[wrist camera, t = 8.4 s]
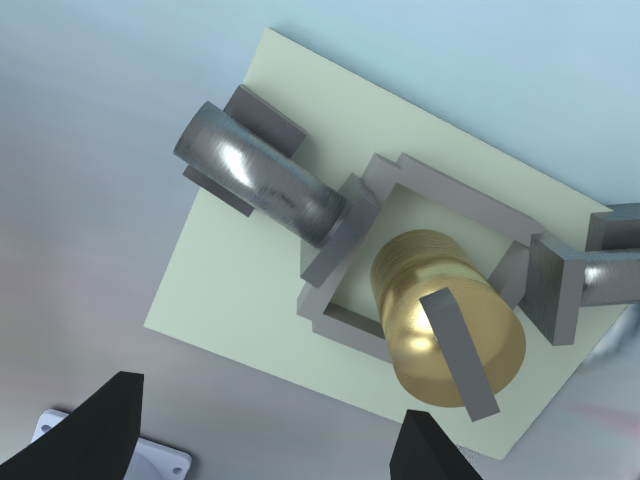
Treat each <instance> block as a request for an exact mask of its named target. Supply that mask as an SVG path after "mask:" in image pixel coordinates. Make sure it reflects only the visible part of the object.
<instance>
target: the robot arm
mask: <svg viewBox="0 0 640 480" xmlns="http://www.w3.org/2000/svg"><path fill="white" fill-rule="evenodd" d="M143 383H144V374H139V373H131V372H123V371H120V372H118V373H117V374H116V375H114V376H113V377H112V378H111V379H110V380H109V381H108V382H107V383H105V384H104V385H103V386H102V387H101V388H100V389H99V390H98V391H96V392H95V393H94V394H93V395H92V396H91V397H89V398H88V399H87V400H86V401H85V402H84V403H82V404H81V405H80V406H79V407H78V408H76V409H75V410H74V411H73V412H71V413H70V414H66V413H63V412H60V411H57V410H53V409H49V410H46V411H44V413H43V414H42V415H41V417H40V418H39V421H38V424H37V427H36V430H35V433H34V436H33V439H32V441H31V444H30V445H28V446H27V447H26V448H24V449H23V450H22V451H20V452H19V453H17V454H16V455H14V456H13V457H11V458H10V459H8V460H7V461H5V462H4V463H2V464H1V465H0V480H184V478H185V476H186V474H187V472H188V470H189V468H190V466H191V462H192V458H191V456H190V455H189V454H187V453H184V452H181V451H178V450H175V449H172V448H169V447H166V446H163V445H160V444H157V443H154V442H151V441H148V440H145V439H142V438H139V436H140V425H141V411H142V397H143ZM47 425H48V426H50V427H48V426H47ZM389 465H390V475H391V480H483V479H482V478H481V476H480V475H479V474H478V473H477V472H476V471H475V469H474V468H473V467H472V466H471V465H470V463H469V462H468V461H467V460H466V458H465V457H464V456H463V455H462V454H461V452H460V451H459V450H458V449H457V447H456V446H455V445H454V443H453V442H452V441H451V440H450V438H449V437H448V436H447V435H446V433H445V432H444V431H443V429H442V428H441V427H440V426H439V424H438V423H437V422H436V421H435V419H434V418H433V417H432V416H431V414H430V413H429V412H426V411H419V410H411V409H407V411H406V414H405V418H404V421H403V424H402V427H401V430H400V433H399V436H398V439H397V443H396V446H395V449H394V452H393V455H392V458H391V461H390V464H389ZM178 468H181V469H178Z"/></svg>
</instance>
